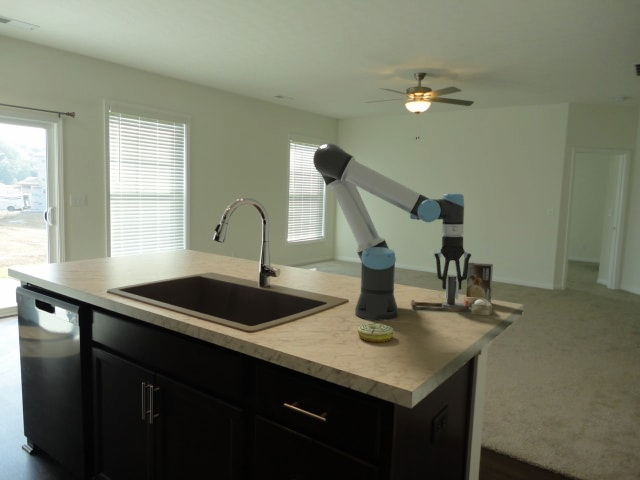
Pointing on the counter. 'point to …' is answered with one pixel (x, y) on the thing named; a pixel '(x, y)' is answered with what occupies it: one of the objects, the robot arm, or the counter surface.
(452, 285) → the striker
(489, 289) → the coffee box
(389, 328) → the decorated donut
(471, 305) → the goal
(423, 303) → the rail
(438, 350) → the counter surface
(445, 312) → the pitch mat
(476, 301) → the ball
